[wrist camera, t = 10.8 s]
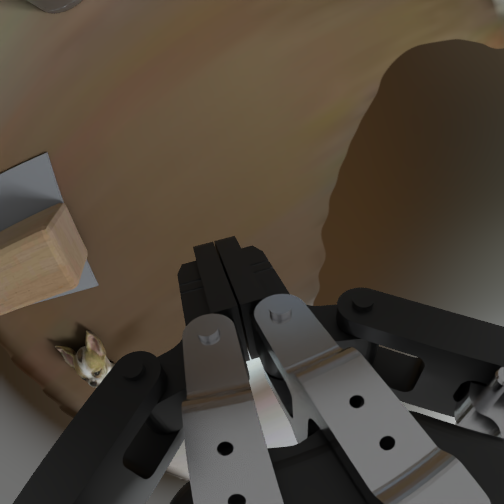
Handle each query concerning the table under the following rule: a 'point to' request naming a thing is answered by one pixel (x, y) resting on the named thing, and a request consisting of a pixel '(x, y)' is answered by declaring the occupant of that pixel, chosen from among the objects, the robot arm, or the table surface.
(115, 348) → the table surface
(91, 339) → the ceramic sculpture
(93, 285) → the mat
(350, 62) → the table surface
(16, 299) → the wooden block
